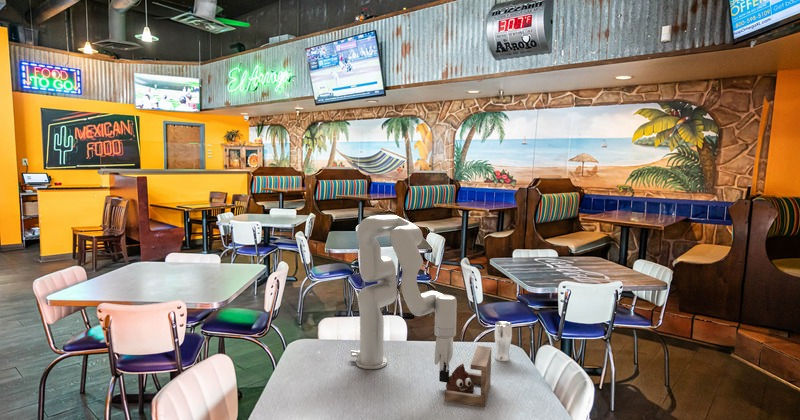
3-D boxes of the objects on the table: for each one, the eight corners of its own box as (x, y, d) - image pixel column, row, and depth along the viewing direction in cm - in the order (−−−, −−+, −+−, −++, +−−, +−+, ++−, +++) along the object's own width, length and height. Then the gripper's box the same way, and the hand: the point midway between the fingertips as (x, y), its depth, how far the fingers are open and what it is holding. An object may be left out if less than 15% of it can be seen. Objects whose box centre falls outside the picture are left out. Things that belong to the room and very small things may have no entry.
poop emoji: (468, 383, 162) (468, 358, 161) (478, 393, 154) (478, 367, 153) (442, 386, 159) (442, 360, 159) (451, 397, 151) (451, 370, 151)
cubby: (444, 400, 149) (445, 361, 148) (453, 378, 166) (454, 343, 165) (485, 407, 145) (486, 366, 144) (490, 383, 162) (491, 347, 161)
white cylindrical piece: (511, 363, 181) (512, 326, 180) (494, 361, 182) (494, 325, 181) (510, 356, 188) (511, 321, 187) (493, 355, 189) (494, 320, 188)
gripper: (439, 323, 165) (438, 371, 166) (430, 336, 150) (428, 388, 152) (459, 325, 162) (458, 374, 164) (451, 338, 148) (450, 392, 149)
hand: (444, 381), depth 158 cm, fingers closed
